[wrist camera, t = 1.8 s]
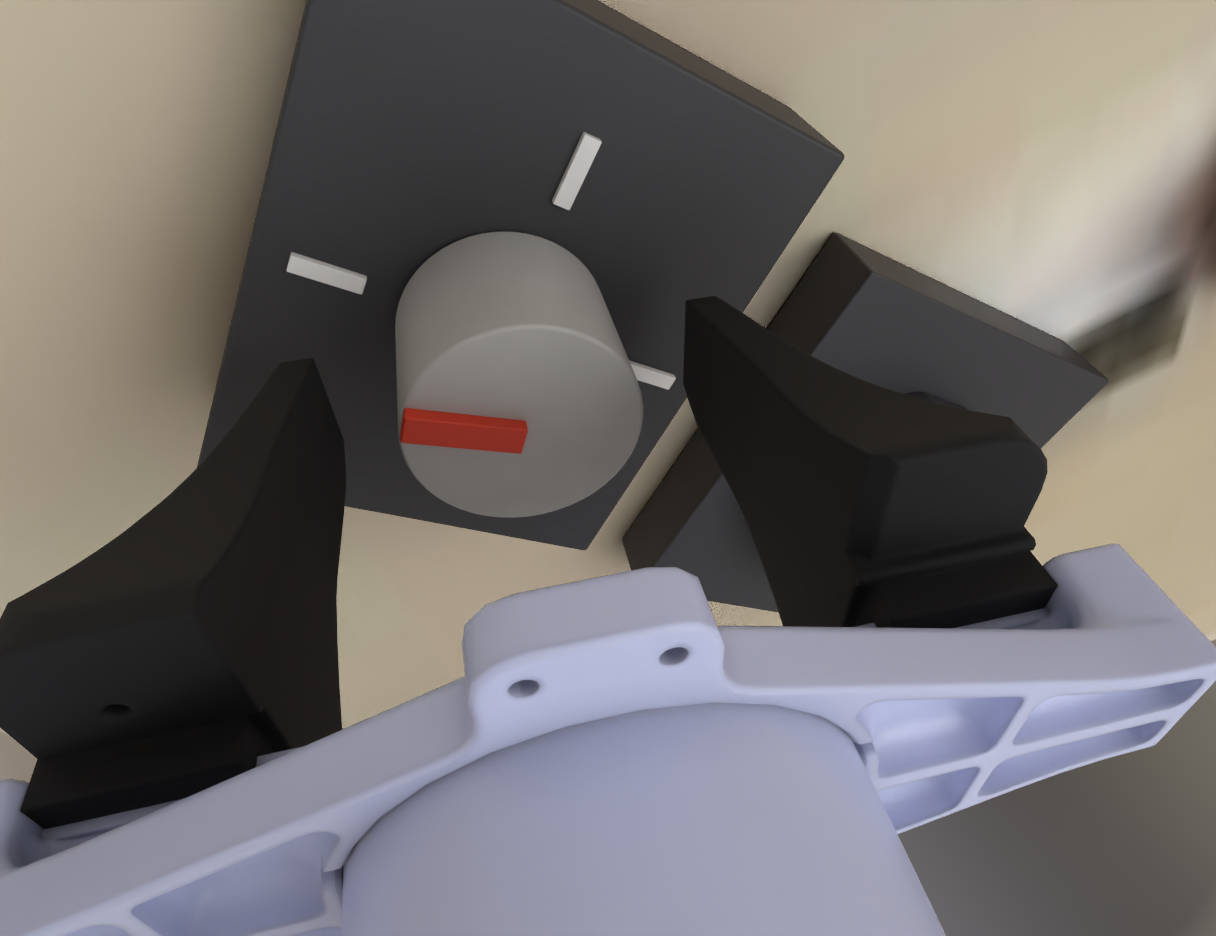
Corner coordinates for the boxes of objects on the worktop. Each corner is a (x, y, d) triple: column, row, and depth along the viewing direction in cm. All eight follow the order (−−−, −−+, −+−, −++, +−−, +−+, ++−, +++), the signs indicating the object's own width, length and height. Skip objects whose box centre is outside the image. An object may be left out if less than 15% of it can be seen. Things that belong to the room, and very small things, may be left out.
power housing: (834, 581, 31) (881, 666, 28) (620, 539, 26) (650, 635, 23) (1063, 340, 24) (1154, 417, 22) (833, 230, 20) (910, 310, 17)
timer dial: (631, 252, 16) (684, 356, 13) (573, 420, 18) (607, 536, 16) (411, 209, 14) (419, 316, 11) (383, 399, 17) (383, 523, 14)
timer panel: (567, 480, 24) (587, 556, 22) (214, 399, 19) (192, 484, 17) (790, 107, 18) (851, 159, 15) (342, -143, 13) (334, -122, 11)
